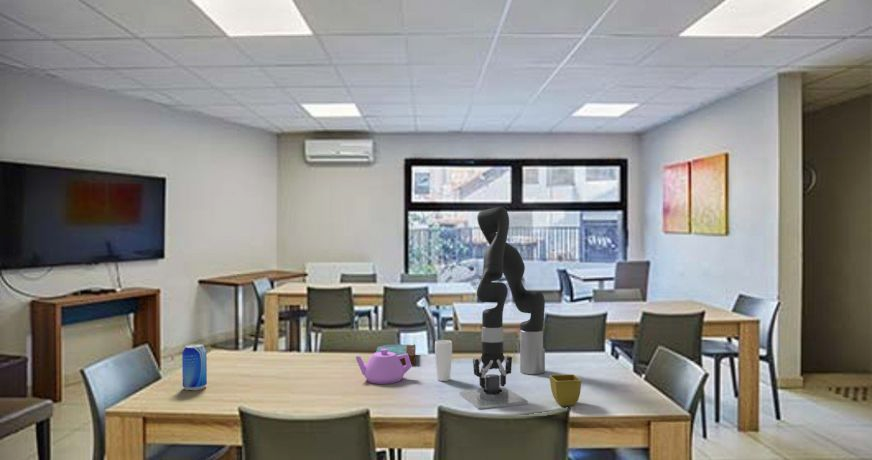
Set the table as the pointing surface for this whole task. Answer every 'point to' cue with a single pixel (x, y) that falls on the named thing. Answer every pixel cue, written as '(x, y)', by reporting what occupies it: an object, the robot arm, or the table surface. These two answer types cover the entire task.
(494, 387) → the cap
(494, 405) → the square base plate
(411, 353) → the book
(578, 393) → the flower pot
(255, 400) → the table surface
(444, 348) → the drinking glass
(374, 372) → the teapot
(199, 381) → the beer can
